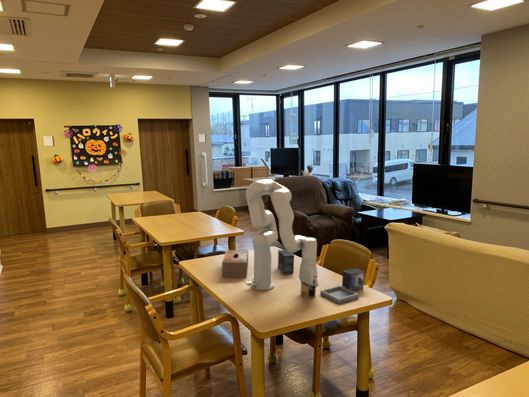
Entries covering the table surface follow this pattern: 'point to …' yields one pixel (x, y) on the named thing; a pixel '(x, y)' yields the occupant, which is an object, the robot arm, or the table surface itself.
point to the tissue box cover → (235, 264)
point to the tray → (339, 294)
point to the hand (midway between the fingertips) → (308, 293)
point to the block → (306, 290)
